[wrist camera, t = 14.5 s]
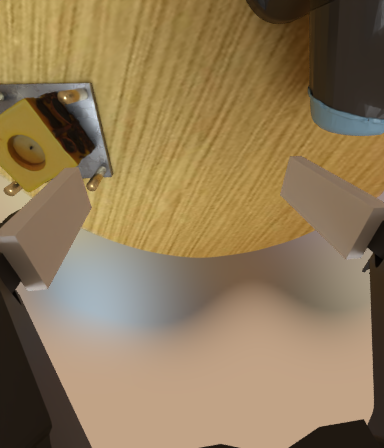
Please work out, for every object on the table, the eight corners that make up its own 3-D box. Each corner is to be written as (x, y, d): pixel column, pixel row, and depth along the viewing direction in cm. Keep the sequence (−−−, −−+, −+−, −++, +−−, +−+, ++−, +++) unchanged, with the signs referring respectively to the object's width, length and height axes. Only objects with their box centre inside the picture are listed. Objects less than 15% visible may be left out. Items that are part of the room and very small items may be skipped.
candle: (56, 90, 34) (23, 94, 26) (97, 147, 40) (81, 165, 32) (7, 119, 36) (-38, 132, 28) (54, 171, 41) (27, 194, 33)
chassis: (-12, 84, 34) (-63, 86, 26) (91, 82, 36) (72, 84, 28) (32, 178, 43) (4, 200, 35) (113, 174, 45) (102, 194, 37)
